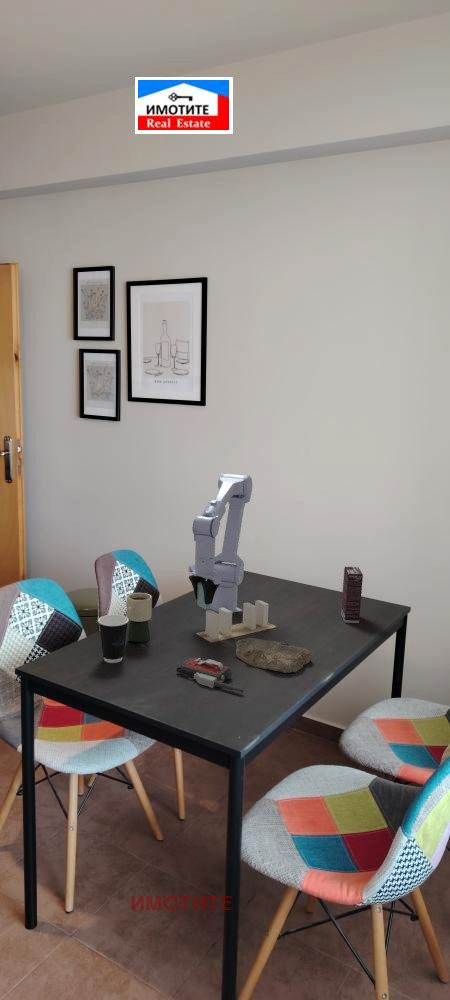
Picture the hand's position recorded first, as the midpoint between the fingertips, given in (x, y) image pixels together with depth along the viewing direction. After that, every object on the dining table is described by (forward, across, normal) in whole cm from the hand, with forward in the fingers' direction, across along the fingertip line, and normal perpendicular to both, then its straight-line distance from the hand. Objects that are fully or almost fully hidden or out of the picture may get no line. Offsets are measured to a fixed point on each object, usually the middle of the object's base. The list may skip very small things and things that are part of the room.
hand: (203, 601), depth 207 cm
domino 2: (+8, +7, +3) cm, 11 cm away
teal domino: (+2, 0, 0) cm, 2 cm away
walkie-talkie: (+9, +30, -16) cm, 36 cm away
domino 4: (+8, +7, +17) cm, 20 cm away
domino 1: (+8, +7, -1) cm, 11 cm away
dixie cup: (+9, +6, -32) cm, 34 cm away
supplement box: (+9, +15, +46) cm, 49 cm away
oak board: (+9, +7, +8) cm, 13 cm away
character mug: (+9, -2, -20) cm, 22 cm away
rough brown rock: (+9, +27, +3) cm, 29 cm away
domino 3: (+8, +7, +12) cm, 16 cm away
